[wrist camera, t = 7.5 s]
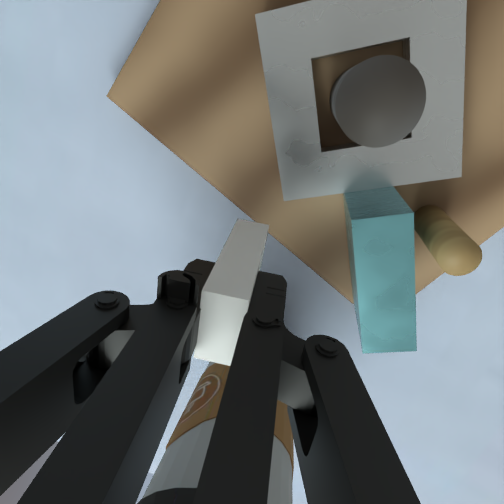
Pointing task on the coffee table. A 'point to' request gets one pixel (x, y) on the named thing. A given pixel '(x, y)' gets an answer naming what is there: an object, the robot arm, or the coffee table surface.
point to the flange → (361, 157)
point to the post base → (330, 128)
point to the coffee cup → (197, 441)
